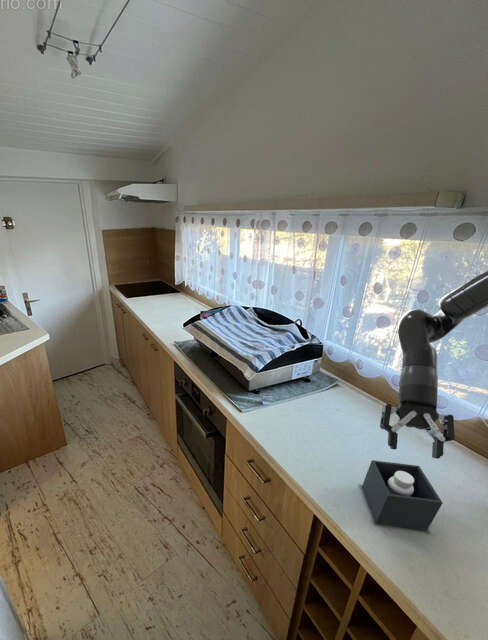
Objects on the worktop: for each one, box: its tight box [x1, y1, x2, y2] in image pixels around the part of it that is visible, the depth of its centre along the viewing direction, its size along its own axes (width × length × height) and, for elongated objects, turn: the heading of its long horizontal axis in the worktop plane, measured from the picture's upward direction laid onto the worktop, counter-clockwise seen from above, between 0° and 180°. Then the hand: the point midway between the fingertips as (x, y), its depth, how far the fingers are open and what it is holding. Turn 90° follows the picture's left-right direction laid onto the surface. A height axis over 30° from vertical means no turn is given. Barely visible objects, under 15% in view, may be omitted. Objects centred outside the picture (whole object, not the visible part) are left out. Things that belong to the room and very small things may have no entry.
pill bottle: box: [386, 471, 414, 497], centre depth 76 cm, size 5×5×10 cm
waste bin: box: [361, 459, 443, 532], centre depth 76 cm, size 11×11×10 cm
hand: (414, 453), depth 71 cm, fingers open, 8 cm apart
